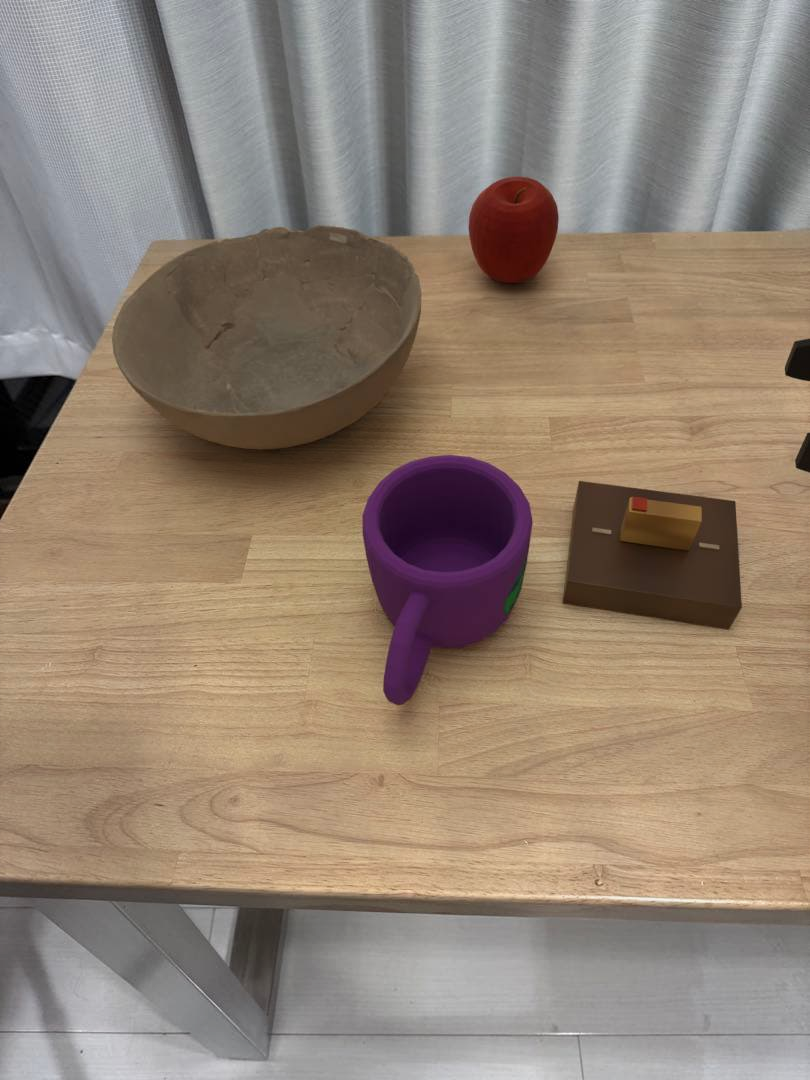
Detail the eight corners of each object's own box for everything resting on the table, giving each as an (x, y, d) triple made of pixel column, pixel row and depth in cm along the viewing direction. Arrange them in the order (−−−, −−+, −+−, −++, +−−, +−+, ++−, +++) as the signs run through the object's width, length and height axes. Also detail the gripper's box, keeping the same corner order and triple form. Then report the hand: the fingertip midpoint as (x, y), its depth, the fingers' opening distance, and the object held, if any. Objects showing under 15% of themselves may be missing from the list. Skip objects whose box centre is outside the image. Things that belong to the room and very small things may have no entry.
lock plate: (724, 524, 59) (736, 499, 56) (729, 629, 53) (742, 606, 50) (573, 504, 61) (579, 479, 58) (562, 603, 55) (567, 579, 52)
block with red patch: (689, 536, 54) (702, 504, 51) (689, 551, 53) (703, 519, 51) (620, 527, 55) (630, 494, 52) (619, 541, 54) (629, 509, 51)
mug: (403, 524, 60) (395, 437, 52) (537, 556, 58) (550, 470, 50) (319, 708, 51) (294, 636, 43) (476, 759, 48) (481, 691, 40)
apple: (460, 294, 80) (461, 206, 72) (475, 248, 86) (478, 161, 78) (546, 302, 78) (557, 213, 70) (556, 254, 84) (567, 166, 76)
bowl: (453, 323, 77) (453, 234, 69) (377, 517, 61) (366, 431, 53) (218, 293, 83) (194, 208, 75) (92, 464, 67) (44, 379, 59)
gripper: (1088, 271, 38) (807, 262, 41) (1201, 471, 30) (836, 442, 33) (1014, 377, 44) (771, 362, 47) (1092, 571, 35) (788, 538, 38)
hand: (795, 402), depth 40 cm, fingers open, 7 cm apart
